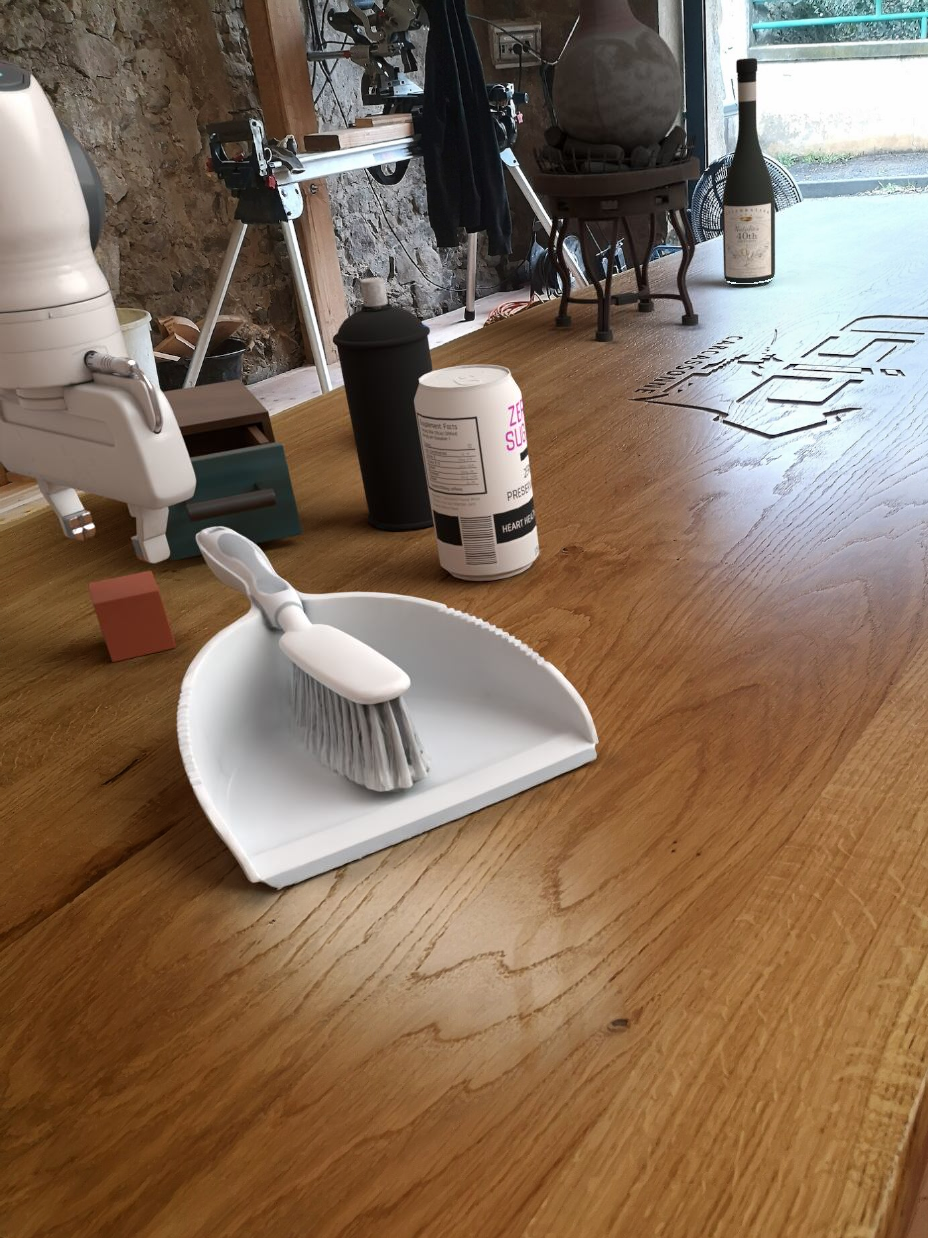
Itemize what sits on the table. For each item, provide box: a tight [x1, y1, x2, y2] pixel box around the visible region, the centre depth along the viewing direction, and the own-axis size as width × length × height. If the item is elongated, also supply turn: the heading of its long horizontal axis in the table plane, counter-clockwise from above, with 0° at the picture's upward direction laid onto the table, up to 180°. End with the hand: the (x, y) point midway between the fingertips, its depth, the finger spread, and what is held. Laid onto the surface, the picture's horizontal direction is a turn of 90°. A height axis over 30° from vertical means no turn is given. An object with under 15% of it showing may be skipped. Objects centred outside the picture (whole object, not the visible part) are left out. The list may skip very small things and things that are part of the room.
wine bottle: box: [721, 57, 776, 288], centre depth 188 cm, size 8×8×30 cm
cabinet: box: [162, 379, 276, 443], centre depth 117 cm, size 15×13×10 cm
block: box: [87, 570, 177, 663], centre depth 92 cm, size 5×5×5 cm
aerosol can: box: [332, 276, 434, 532], centre depth 108 cm, size 8×8×20 cm
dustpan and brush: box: [176, 526, 600, 891], centre depth 79 cm, size 23×33×10 cm
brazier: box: [531, 0, 701, 342], centre depth 165 cm, size 22×22×45 cm
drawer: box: [165, 423, 303, 562], centre depth 109 cm, size 18×11×8 cm, turn 25°
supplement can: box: [414, 363, 540, 582], centre depth 98 cm, size 8×8×15 cm
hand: (117, 548), depth 90 cm, fingers open, 8 cm apart
